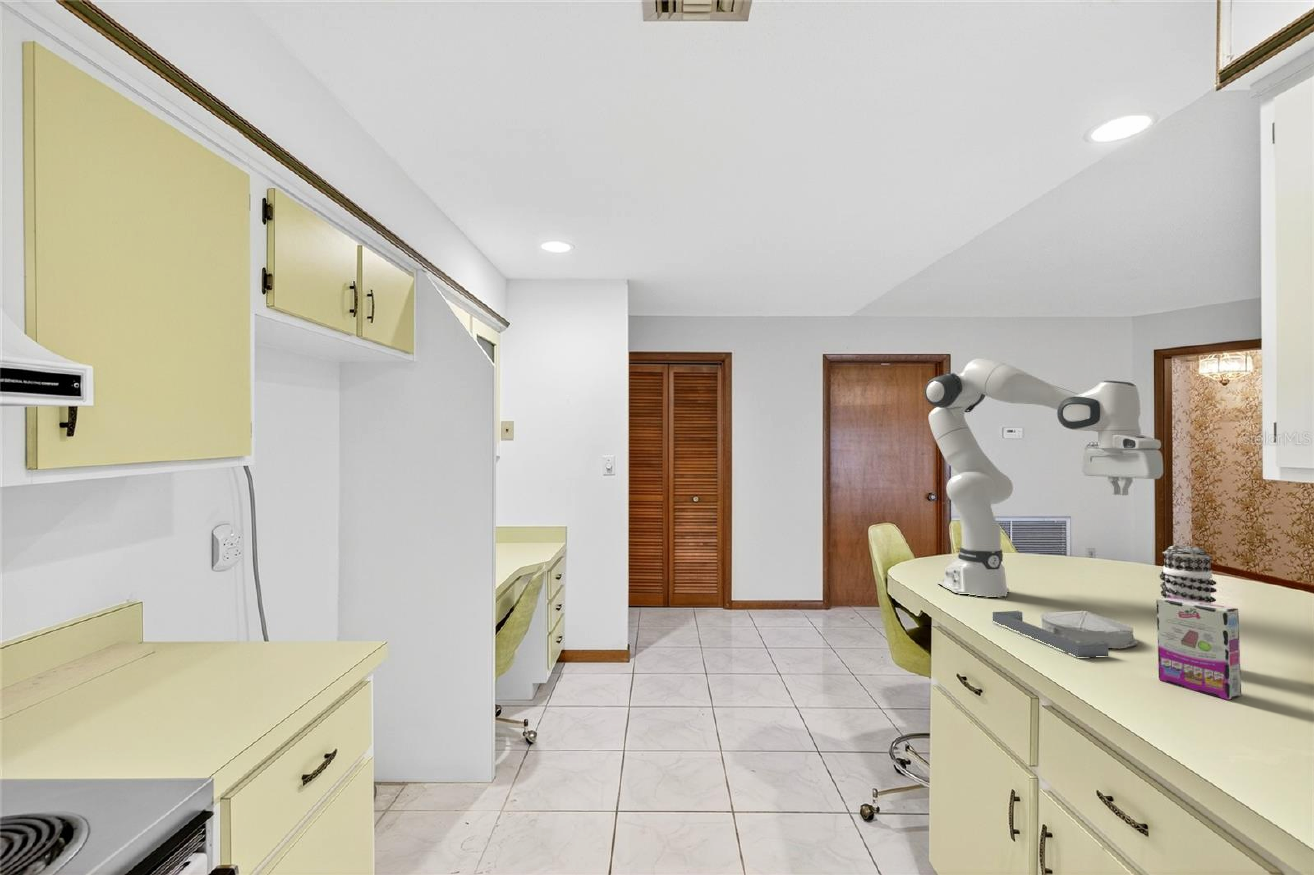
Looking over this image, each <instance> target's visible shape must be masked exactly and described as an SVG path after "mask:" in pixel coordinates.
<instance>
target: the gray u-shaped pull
mask: <svg viewBox="0 0 1314 875" xmlns="http://www.w3.org/2000/svg"><path fill="white" fill-rule="evenodd" d="M993 621H995V622H997V623H999V624H1001V625H1005V626H1007V627H1009V628H1011V629H1013V630H1016V631H1019V632H1020V633H1022V634H1025V635H1028V636H1031V637H1032V638H1034V639H1038V640H1040V641H1042V642H1044V643H1046V644H1050V645H1052V646H1054V647H1056V648H1059V649H1061V650H1063V651H1065V652H1067V653H1071V654H1073V655H1075V656H1076V657H1096V656H1110V655H1109V649H1108V643H1105V642H1103V641H1100V642H1083V643H1078V642H1075V641H1073V640H1070V639H1067V638H1065V637H1062V636H1060V635H1057V634H1054V633H1052V632H1049V631H1047V630H1044V629H1041V628H1039V627H1040V626H1037V625H1033V624H1031V623H1028V622H1025V621H1024V620H1023V612H1022V611H1019V610H1007V611H993V612H992V622H993Z"/></svg>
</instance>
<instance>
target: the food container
mask: <svg viewBox="0 0 1314 875" xmlns="http://www.w3.org/2000/svg"><path fill="white" fill-rule="evenodd" d="M1040 618H1041V626H1042V628H1041V629H1044V630H1047V631H1049V632H1052V633H1054V634H1057V635H1060V636H1062V637H1065V638H1067V639H1070V640H1073V641H1075V642H1078V643H1083V642H1100V641H1103V642H1105V643H1108V648H1118V649H1127V648H1130V647H1133V646H1137V645H1138V643H1139V641H1137V639H1136V638H1135V636H1134V629H1133V627H1131V626H1128V625H1127V624H1125V623H1122V622H1120V621H1117V620H1114V619H1112V618H1109V617H1105V616H1103V615H1100V614H1097V613H1093V612H1090V611H1087V610H1079V611H1074V610H1073V611H1059V612H1058V611H1054V612H1053V611H1051V612H1049V611H1046V612H1044V613H1042V614H1041V615H1040Z"/></svg>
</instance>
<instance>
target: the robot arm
mask: <svg viewBox="0 0 1314 875" xmlns="http://www.w3.org/2000/svg"><path fill="white" fill-rule="evenodd" d="M924 397H925V400H926V401H927V403H928V404H930V405H932V406H933V407H935V408H932V410H931V411H930V412H929V414H928V423H929V427H930V430H931V433H932V436H933V439H934V440H935V442H936V445H937V446H938V448H939V450H940V452H941V454H942V456H943V458H944V460H945V462H946V463H947V465H949V466H950V467H952V468H953V469H954V470H955V471H956V472H957V473H958V474H956V475H954V476H952V477H951V478H950V479H949V480H948V481H947V483H946V494H947V496H948V498H949V500H950V501H951V502H952V503H953V504H954V505H955V509H956V511H957V514H958V517H959V521H960V522H959V523H960V528H961V529H960V530H961V532H960V533H961V535H960V536H961V547H959V548H956V552H958V555H957V559H955V560H954V561H953V562H952V563H950V564H949V565H948V566H946V568H945V569H944V570H945V571H944V579H941V580H937V581H936V583H937V582H938V583H939V584H942V585H944V586H945V587H947V588H948V589H951V590H953V591H954V592H957V593H970V594H975V595H981V596H993V597H994V596H996V597H998V596H1005V595H1007V594H1008V593H1007V592H1009V591H1010V588H1008V586H1007V577H1006V570H1005V567H1004V565H1003V563H1002V562H1003V560H1004V559H1003V557H1004V554H1003V549H1002V548H1001V547H1002V546H1001V541H1002V540H1001V539H1002V538H1001V525H1000V523H999V522H998V521H997V520H996V518H995V515H994V513H993V509H992V505H997V504H1000V503H1003V502H1004V501H1006V500H1007V499H1009V498H1010V497H1011V495H1012V494H1013V489H1014V486H1013V482H1012V480H1011V478H1009V476H1007V475H1006V474H1004V473H1003V472H1002V471H1000V470H999V469H998V467H997V466H995V464H994V463H993V462H992V461H991V460H990V458H989V457H988V456H987V455H986V454H985V453H984V451H983V449H981V446H980V444H979V443H978V441H977V439H976V438H975V436H974V434H973V432H972V430H971V429H970V427H969V425H968V423H967V421H966V418H965V413H971V412H973V409H975V408H976V407H977V406H978V405H980V404H981V402H983V401H984V399H985V398H986V397H988V398H991V399H993V400H996V401H1000V402H1004V403H1009V404H1020V405H1021V404H1022V405H1023V404H1024V405H1036V406H1037V405H1038V406H1044V407H1046V408H1047V407H1048V408H1050V409H1051V408H1052V409H1054V410H1057V412H1056V414H1057V415H1056V416H1057V419H1058V421H1059V423H1060V424H1061V425H1062V426H1063V427H1064V428H1066V429H1070V430H1073V431H1091V432H1097V437H1098V438H1097V440H1098V442H1094V441H1093V442H1089V443H1088V444H1086V446H1084V453H1083V456H1082V462H1081V463H1082V466H1081V472H1082V474H1083V475H1084V476H1087V477H1106V478H1107V482H1108V484H1109V485H1110V487H1111V490H1112V491H1111V492H1112V495H1117V496H1129V489H1130V487H1131V485H1132V484H1133V482H1134V481H1133V479H1145V480H1159V479H1160V478H1161V477H1162V476H1163V475H1164V461H1163V460H1164V459H1163V455H1162V452H1161V451H1160V450H1159V449H1160V448H1162V447H1161V446H1162V442H1161V440H1160V439H1156V438H1152V437H1150V436H1147V435H1144V434H1142V432H1141V431H1142V430H1141V427H1140V426H1141V425H1140V423H1139V422H1140V421H1139V419H1140V416H1141V402H1140V393H1139V391H1138V387H1137V386H1136V385H1135V384H1134V383H1132V382H1129V381H1121V380H1120V381H1119V380H1104V381H1101V382H1099V383H1098V384H1096V386H1095V387H1093V388H1091V389H1089V390H1087V391H1084V392H1082V393H1080V394H1079V393H1076V392H1074V391H1071V390H1068V389H1065V388H1062V387H1059V386H1056V385H1053V384H1050V383H1048V382H1046V381H1045V380H1042V379H1040V378H1038V377H1035V376H1033V375H1031V374H1029V373H1027V372H1026V371H1025V370H1021V369H1020V368H1018V367H1015V366H1012V365H1010V364H1007V363H1004V362H1002V361H997V360H993V359H988V358H975V359H972V360H970V361H969V362H968V363H967V364H966V365H965V367H964V369H963V371H962V372H961V373H958V374H956V373H954V372H951V373H947V374H944V375H943V374H941V375H938V376H935V377H933V378H931V379H930V380H928V382H927V383H926V385H925V386H924ZM1119 482H1122V483H1121V484H1119ZM1120 485H1121V486H1120ZM1009 593H1010V592H1009ZM1007 596H1008V595H1007ZM1005 597H1006V596H1005ZM998 598H999V597H998Z"/></svg>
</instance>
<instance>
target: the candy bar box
mask: <svg viewBox="0 0 1314 875" xmlns="http://www.w3.org/2000/svg"><path fill="white" fill-rule="evenodd" d="M1239 618H1240V617H1239V608H1236V607H1230V606H1225V605H1219V604H1214V603H1211V604H1209V603H1203V602H1197V601H1192V600H1186V599H1180V598H1174V597H1164V596H1163V597H1160V598H1156V622H1157V623H1156V624H1157V625H1156V627H1157V628H1156V629H1157V658H1158V659H1157V660H1158V661H1157V662H1158V664H1157V665H1158V666H1157V667H1158V668H1157V669H1158V680H1159V681H1161V680H1163V681H1162V682H1164V681H1165V682H1164V683H1167V682H1169V683H1168V684H1171V685H1174V686H1177V685H1179V686H1178V687H1181V686H1182V687H1181V688H1184V687H1185V689H1188V690H1192V691H1196V692H1199V693H1201V694H1206V695H1208V696H1213V697H1216V698H1220V699H1222V700H1223V699H1224V700H1226V701H1231V700H1234V699H1236V698H1240V697H1241V696H1242V679H1241V677H1242V676H1241V652H1240V650H1241V649H1240V647H1241V646H1240V624H1239Z"/></svg>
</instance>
